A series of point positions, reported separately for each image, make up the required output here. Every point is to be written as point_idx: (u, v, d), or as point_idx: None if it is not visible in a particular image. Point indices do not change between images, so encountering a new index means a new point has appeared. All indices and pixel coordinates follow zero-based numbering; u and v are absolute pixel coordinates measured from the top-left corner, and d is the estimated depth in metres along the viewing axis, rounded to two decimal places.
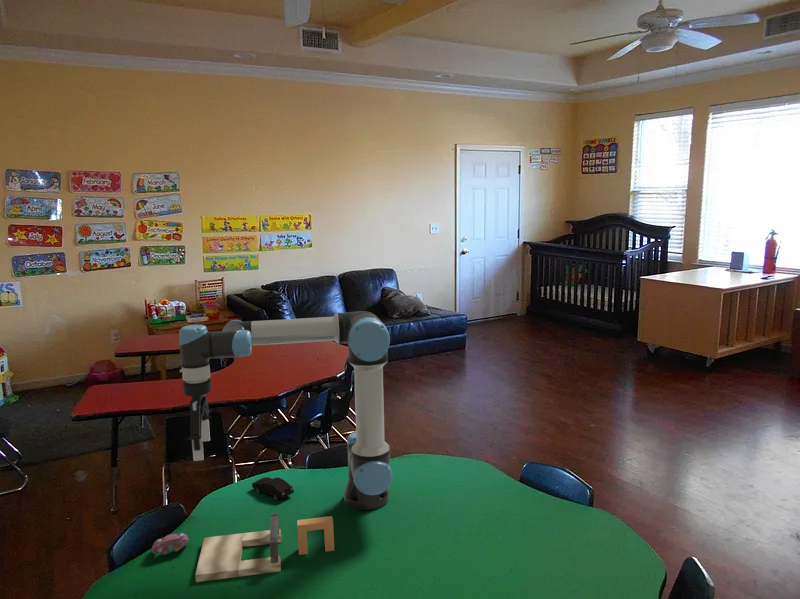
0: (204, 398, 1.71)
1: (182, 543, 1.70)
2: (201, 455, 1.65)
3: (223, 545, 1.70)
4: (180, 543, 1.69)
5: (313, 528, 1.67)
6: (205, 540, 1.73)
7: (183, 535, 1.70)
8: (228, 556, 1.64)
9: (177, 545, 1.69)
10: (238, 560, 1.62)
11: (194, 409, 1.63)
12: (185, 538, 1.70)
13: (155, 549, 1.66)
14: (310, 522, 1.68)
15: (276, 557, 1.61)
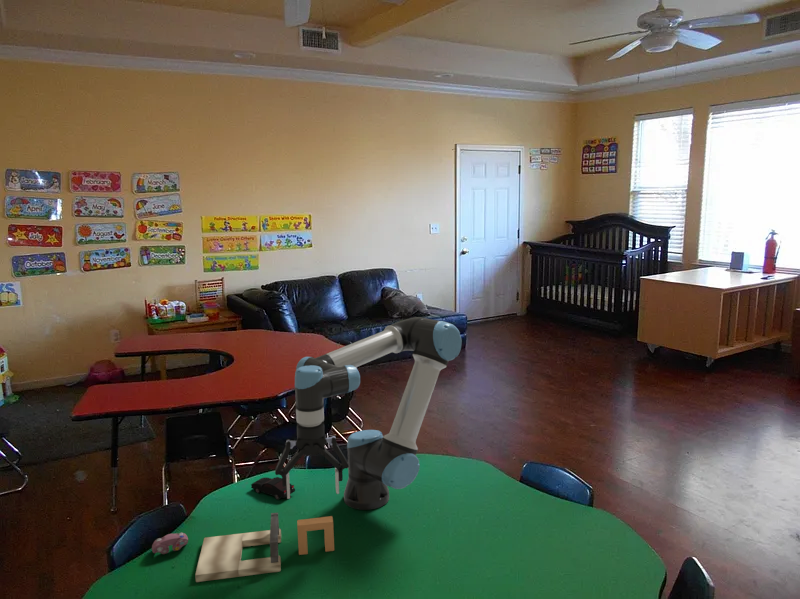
0: (314, 444, 1.63)
1: (182, 542, 1.70)
2: (287, 493, 1.65)
3: (223, 545, 1.70)
4: (180, 542, 1.70)
5: (313, 528, 1.67)
6: (205, 540, 1.73)
7: (183, 534, 1.71)
8: (228, 556, 1.64)
9: (177, 544, 1.70)
10: (238, 560, 1.62)
11: (286, 446, 1.64)
12: (185, 537, 1.70)
13: (155, 548, 1.67)
14: (310, 522, 1.68)
15: (276, 557, 1.61)
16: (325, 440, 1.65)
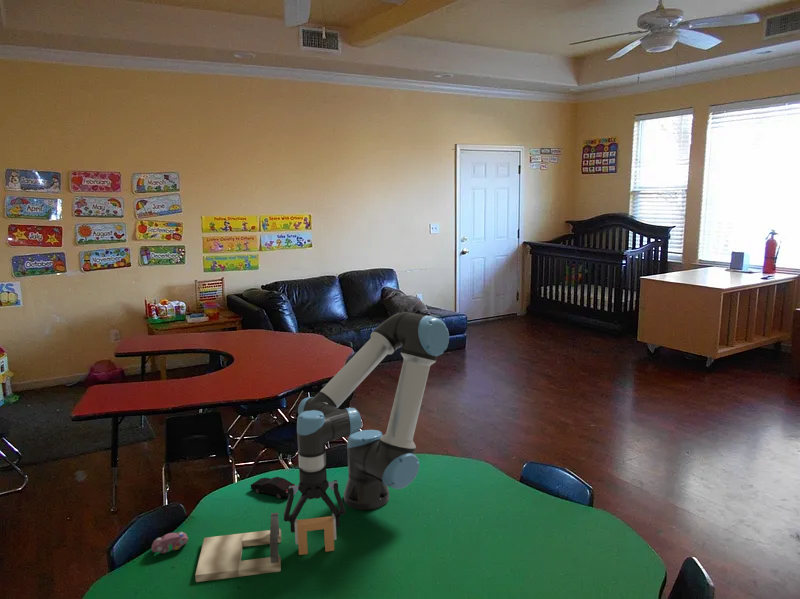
0: (317, 488, 1.66)
1: (182, 542, 1.70)
2: (295, 539, 1.68)
3: (223, 545, 1.70)
4: (179, 542, 1.70)
5: (313, 528, 1.67)
6: (205, 540, 1.73)
7: (182, 534, 1.71)
8: (228, 556, 1.64)
9: (177, 543, 1.70)
10: (238, 560, 1.62)
11: None
12: (184, 537, 1.70)
13: (155, 548, 1.67)
14: (310, 522, 1.68)
15: (276, 557, 1.61)
16: (327, 484, 1.67)
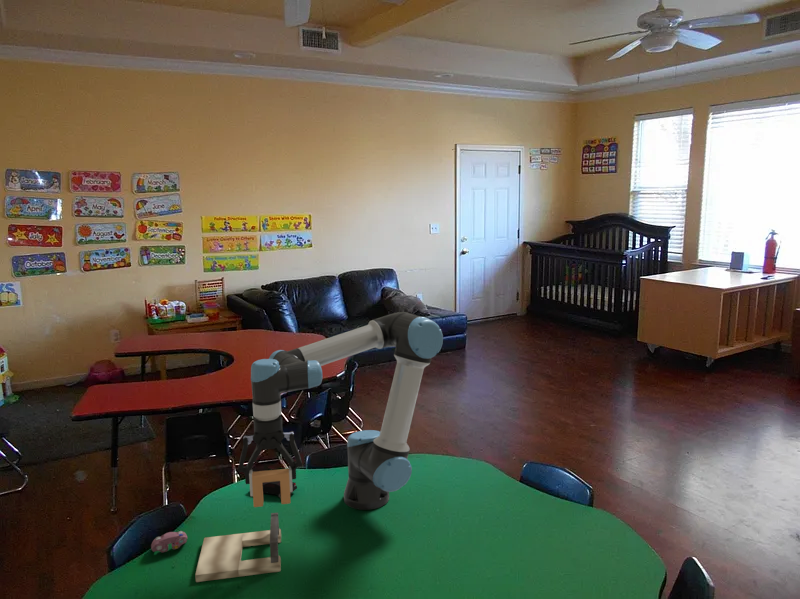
0: (272, 438, 1.62)
1: (181, 541, 1.71)
2: (250, 490, 1.64)
3: (223, 545, 1.70)
4: (179, 541, 1.70)
5: (268, 480, 1.64)
6: (205, 540, 1.73)
7: (182, 533, 1.71)
8: (228, 556, 1.64)
9: (176, 542, 1.70)
10: (238, 560, 1.62)
11: None
12: (184, 536, 1.71)
13: (154, 547, 1.67)
14: (265, 474, 1.64)
15: (276, 557, 1.61)
16: (283, 434, 1.63)
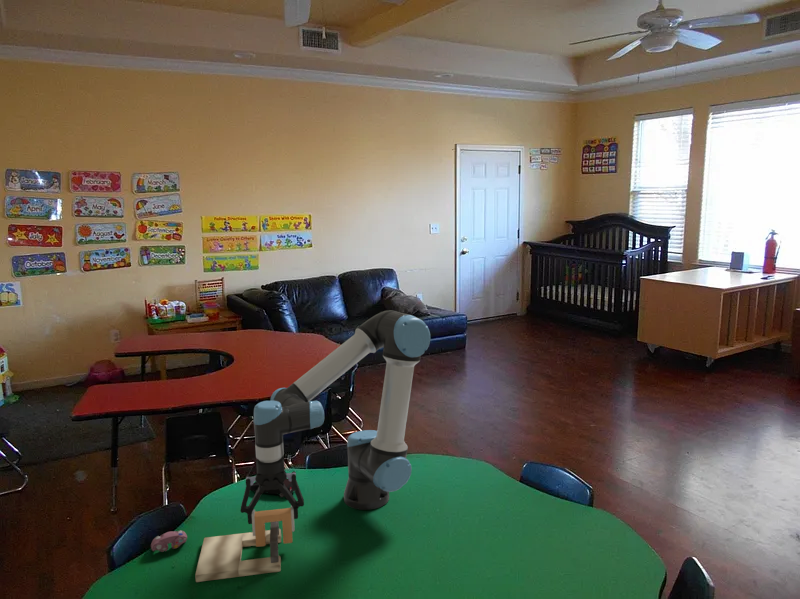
0: (274, 479, 1.64)
1: (181, 540, 1.71)
2: None
3: (223, 545, 1.70)
4: (179, 540, 1.71)
5: (270, 520, 1.66)
6: (205, 540, 1.73)
7: (182, 532, 1.72)
8: (228, 556, 1.64)
9: (176, 542, 1.71)
10: (238, 560, 1.62)
11: None
12: (184, 535, 1.71)
13: (154, 546, 1.68)
14: (268, 514, 1.66)
15: (276, 557, 1.61)
16: (285, 475, 1.65)
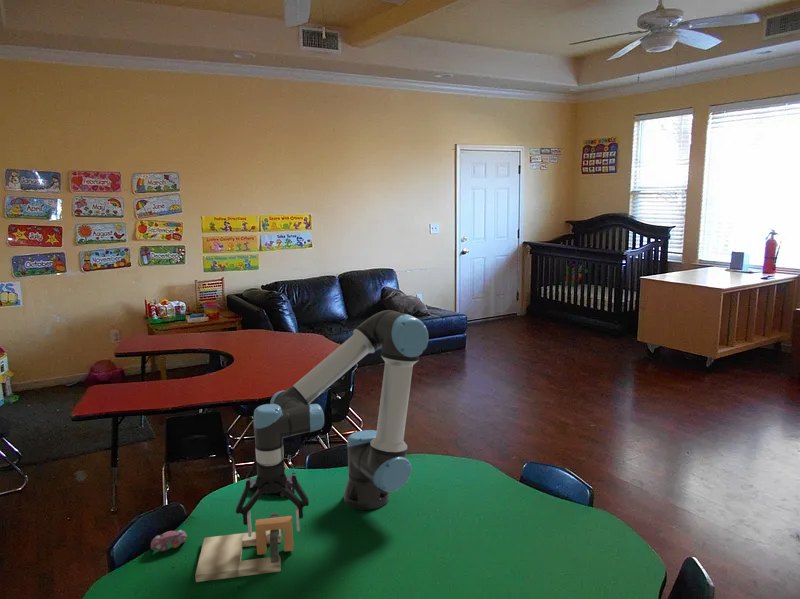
0: (274, 483, 1.64)
1: (181, 540, 1.71)
2: (248, 531, 1.66)
3: (223, 545, 1.70)
4: (178, 539, 1.71)
5: (271, 528, 1.66)
6: (205, 540, 1.73)
7: (181, 532, 1.72)
8: (228, 556, 1.64)
9: (176, 541, 1.71)
10: (238, 560, 1.62)
11: None
12: (183, 534, 1.71)
13: (154, 546, 1.68)
14: (268, 522, 1.67)
15: (276, 557, 1.61)
16: (285, 478, 1.65)
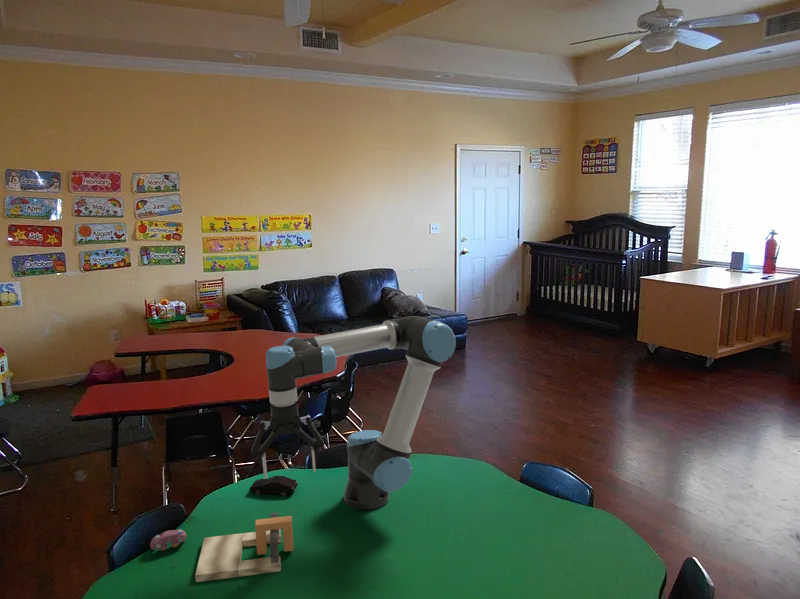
0: (289, 424, 1.64)
1: (181, 539, 1.72)
2: None
3: (223, 545, 1.70)
4: (178, 539, 1.71)
5: (271, 528, 1.66)
6: (205, 540, 1.73)
7: (181, 531, 1.72)
8: (228, 556, 1.64)
9: (175, 540, 1.71)
10: (238, 560, 1.62)
11: None
12: (183, 534, 1.72)
13: (153, 545, 1.68)
14: (268, 522, 1.67)
15: (276, 557, 1.61)
16: (299, 419, 1.65)
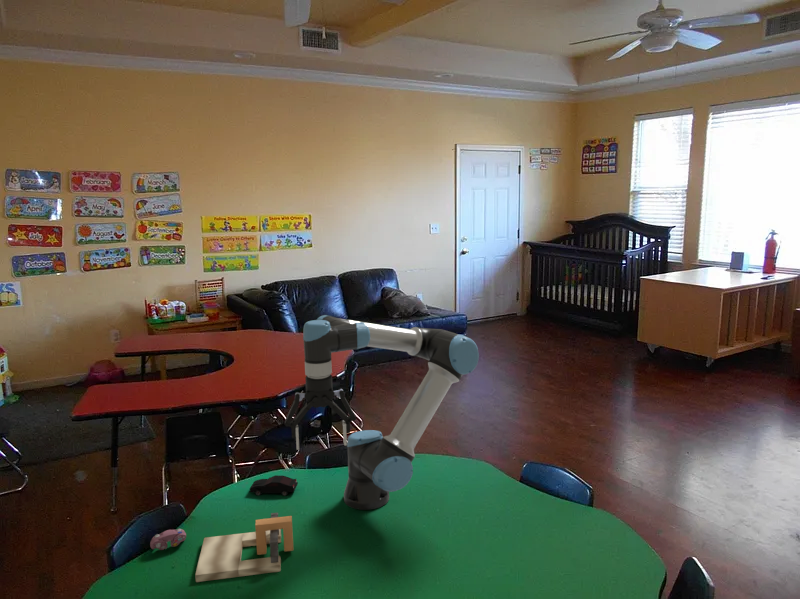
0: (323, 397, 1.68)
1: (180, 538, 1.72)
2: (296, 444, 1.69)
3: (223, 545, 1.70)
4: (178, 538, 1.72)
5: (271, 528, 1.66)
6: (205, 540, 1.73)
7: (181, 530, 1.73)
8: (228, 556, 1.64)
9: (175, 540, 1.72)
10: (238, 560, 1.62)
11: None
12: (183, 533, 1.72)
13: (153, 544, 1.69)
14: (268, 522, 1.67)
15: (276, 557, 1.61)
16: (333, 393, 1.69)
